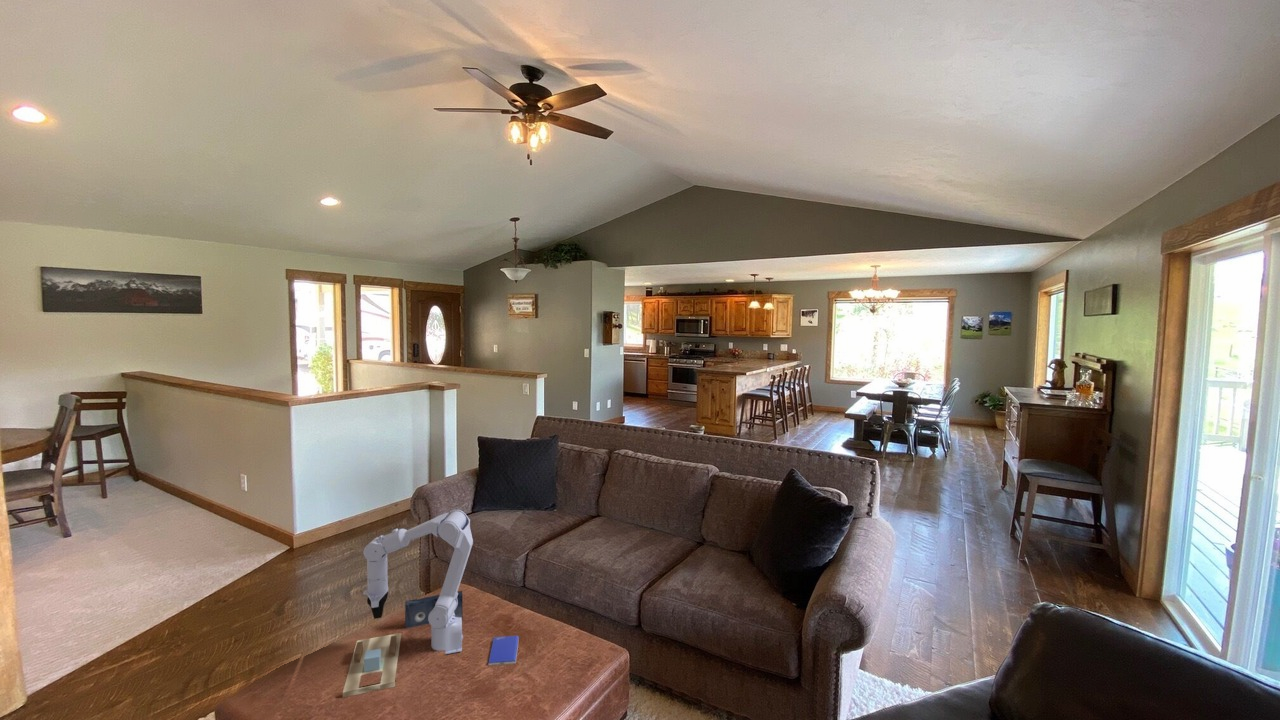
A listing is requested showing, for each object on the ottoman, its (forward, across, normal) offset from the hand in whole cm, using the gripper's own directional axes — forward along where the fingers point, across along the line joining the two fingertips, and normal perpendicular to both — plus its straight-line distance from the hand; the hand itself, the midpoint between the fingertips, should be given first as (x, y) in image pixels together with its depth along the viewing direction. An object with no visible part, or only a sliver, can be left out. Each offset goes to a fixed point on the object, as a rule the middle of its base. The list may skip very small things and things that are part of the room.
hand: (378, 617), depth 162 cm
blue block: (+8, +12, 0) cm, 15 cm away
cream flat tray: (+10, +9, 0) cm, 13 cm away
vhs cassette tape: (+10, -7, +16) cm, 21 cm away
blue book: (+11, +15, +38) cm, 42 cm away
